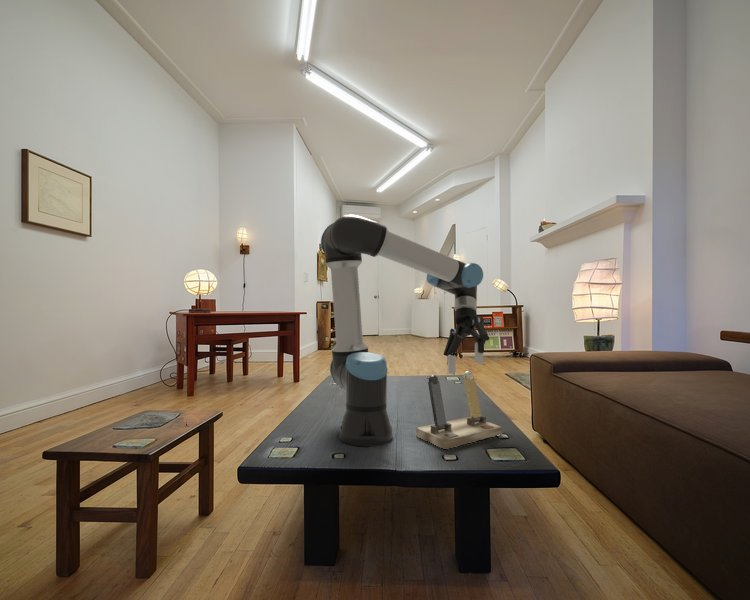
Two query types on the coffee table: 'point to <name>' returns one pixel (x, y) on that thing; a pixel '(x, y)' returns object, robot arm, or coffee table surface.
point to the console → (458, 432)
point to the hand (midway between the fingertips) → (464, 368)
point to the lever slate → (437, 402)
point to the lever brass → (472, 396)
